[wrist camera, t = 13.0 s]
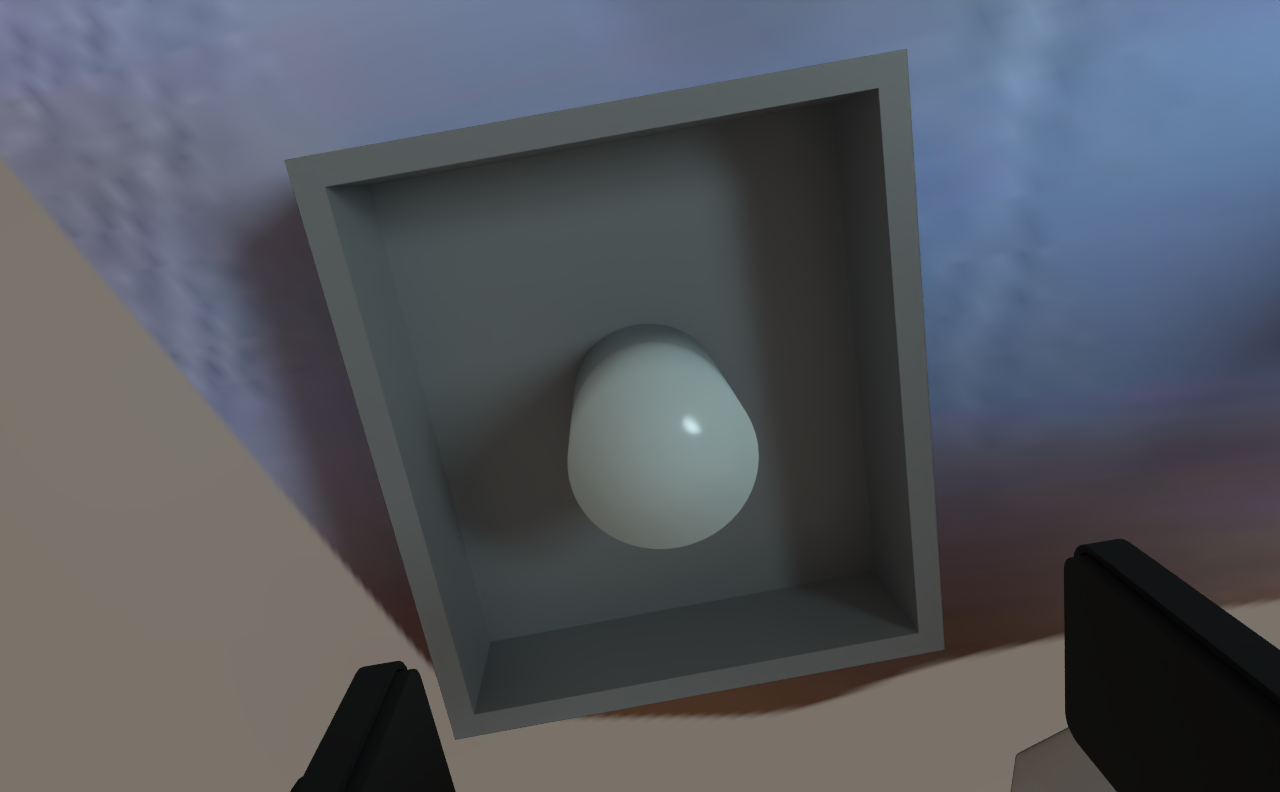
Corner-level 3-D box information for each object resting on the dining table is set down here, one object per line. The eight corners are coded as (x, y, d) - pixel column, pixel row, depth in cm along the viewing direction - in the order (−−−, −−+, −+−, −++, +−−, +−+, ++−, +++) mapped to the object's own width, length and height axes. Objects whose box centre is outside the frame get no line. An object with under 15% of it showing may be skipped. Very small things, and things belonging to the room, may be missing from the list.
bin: (849, 72, 23) (907, 49, 19) (891, 578, 29) (944, 649, 24) (342, 163, 23) (284, 160, 19) (476, 654, 28) (455, 739, 24)
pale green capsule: (709, 311, 25) (745, 353, 19) (731, 451, 26) (769, 530, 20) (559, 338, 25) (549, 389, 19) (589, 477, 26) (587, 564, 20)
